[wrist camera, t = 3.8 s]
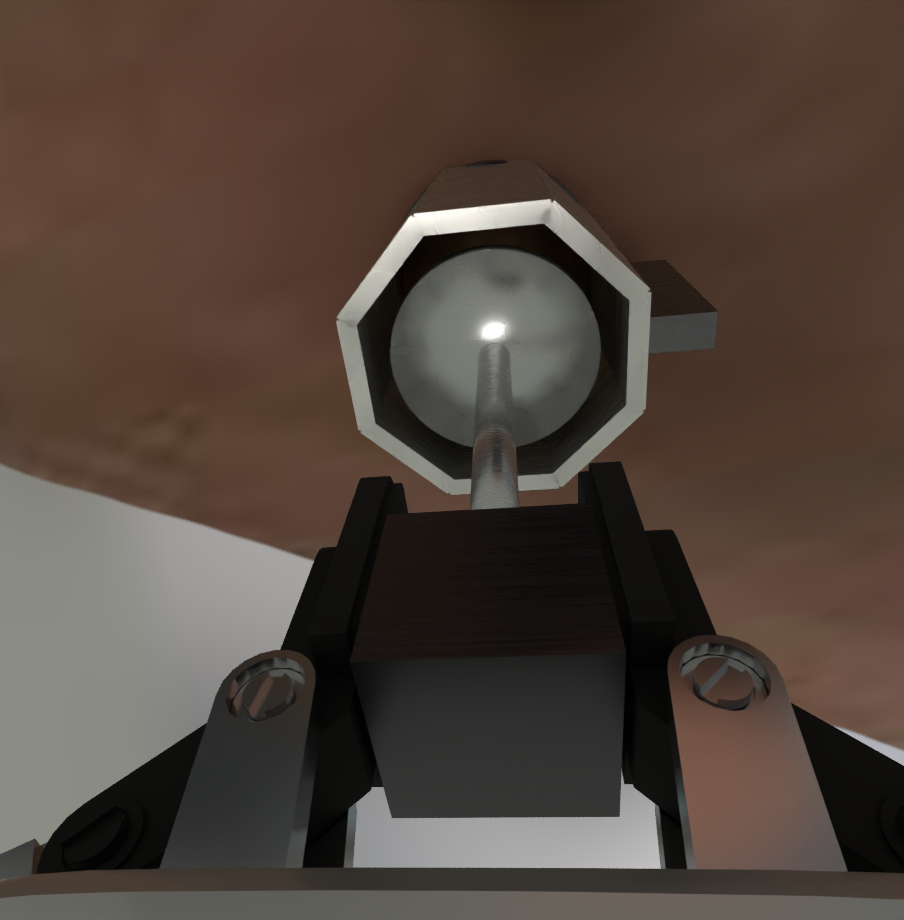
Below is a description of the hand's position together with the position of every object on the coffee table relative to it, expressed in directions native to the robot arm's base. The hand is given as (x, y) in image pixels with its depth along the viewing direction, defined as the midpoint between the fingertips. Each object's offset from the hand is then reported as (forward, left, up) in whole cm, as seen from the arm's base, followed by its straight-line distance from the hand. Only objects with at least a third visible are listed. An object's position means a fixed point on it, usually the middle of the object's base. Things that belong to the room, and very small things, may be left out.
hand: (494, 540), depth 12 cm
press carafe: (-1, 0, -21) cm, 21 cm away
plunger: (0, 0, -10) cm, 10 cm away
